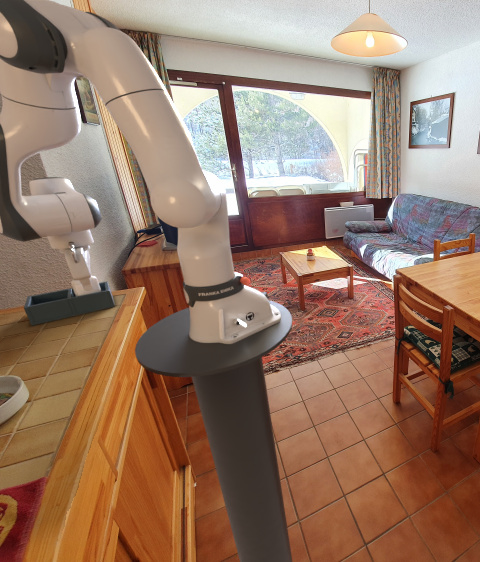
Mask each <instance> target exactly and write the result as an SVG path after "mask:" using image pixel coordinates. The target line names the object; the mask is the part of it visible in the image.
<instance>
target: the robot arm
mask: <svg viewBox="0 0 480 562" xmlns="http://www.w3.org/2000/svg"><path fill="white" fill-rule="evenodd" d="M77 78H78V79H81V78H84V79H86V80H87V81H89V83H90V84H91V85H92V87H93V89H94V90H95V92H96V93H97V95H98V97H99V98H100V100H101V102H102V103H103V105H104V106H105V109H106V110H107V112H108V113H109V115H110V116H111V118H112V120H113V121H114V123H115V125H116V126H117V128H118V130H119V131H120V132H121V134H122V136H123V137H124V139H125V141H126V142H127V144H128V145H129V147H130V149H131V151H132V153H133V155H134V157H135V159H136V162H137V164H138V167H139V169H140V172H141V174H142V177H143V179H144V182H145V184H146V186H147V189H148V190H149V195H150V196H149V197H150V198H149V199H150V205H151V208H152V210H153V212H154V214H155V215H156V216H157V217H158V218H159V219H160V220H161V221H162V222H163V223H165V224H167V225H169V226H171V227H174V228H177V246H176V252H177V256H178V260H179V261H178V262H179V265H180V269H181V274H182V278H183V281H182V287H183V288H182V290H183V294H184V297H185V301H186V303H187V305H188V308H189V310H190V331H189V336H190V338H191V339H192V340H194V341H197V342H201V343H224V344H233V343H235V342H237V341H239V340H242V339H244V338H246V337H248V336H250V335H252V334H254V333H257V332H259V331H261V330H263V329H265V328H267V327H269V326H271V325H274V324H276V323H278V322H280V321H281V314H280V312H279V310H278V309H277V308H276V307H274V306H273V305H271V304H270V303H269V301H268V300H269V296H268V292H267V291H260V290H258V289H256V288H253V287H250V286H249V285H250V284H251V279H250V278H249V277H248V276H244V275H243V274H242V273H239V272H237V271H235V269H234V268H235V267H234V262H233V256H232V255H233V254H232V249H231V243H230V242H231V240H230V224H229V223H230V222H229V211H228V202H227V194H226V193H227V192H226V188H225V185H224V184H223V182H222V181H221V179H220V178H218V177H217V175H215V174H213V173H212V172H210V171H208V170H205V169H203V167H202V165H201V162H200V160H199V157H198V154H197V152H196V150H195V147H194V144H193V141H192V136H191V133H190V131H189V130H188V128H187V126H186V124H185V122H184V120H183V118H182V116H181V113H180V112H179V110H178V109H177V107H176V105H175V103H174V102H173V99H172V98H171V96H170V94H169V92H168V89H167V88H166V86H165V84H164V83H163V81H162V79H161V77H160V76H159V74H158V73H157V71H156V69H155V68H154V66H153V64H152V63H151V62H150V60H149V59H148V58H147V55H145V53H144V52H143V51H142V49H141V48H140V47H139V45H138V44H137V42H135V40H134V39H133V38H132V37H131V36H130V35H128V34H126V32H123V31H121V29H120V28H119V27H118V26H117V25H115V24H114V23H113V22H111V21H110V20H108V19H107V18H105V17H102V16H101V15H99V14H96V13H94V12H91V11H83V10H80V9H77V8H74V7H72V6H68V5H64V4H60V3H58V2H56V1H53V0H0V96H1V97H0V98H1V103H2V106H1V110H0V235H2V236H4V237H6V238H8V239H12V240H16V241H18V242H23V243H26V242H31V241H35V240H38V239H42V238H46V239H47V240H48V243H49V246H50V248H51V249H54V250H58V251H59V253H60V254H62V255H64V258H65V262H66V264H67V268H68V270H69V272H70V275H71V277H72V280H79V281H80V283H81V284H82V286H83V288H84V290H85V291H89V290H92V289H93V287H92V284H91V282H90V277H91V276H92V270H91V267H92V266H91V255H90V250H91V246H90V245H92V244H94V243H95V241H94V238H93V235H92V232H91V230H94V229H95V228H97V227H98V226H99V224H100V223H101V222H102V220H103V217H102V214H101V211H100V209H99V206H98V205H99V204H98V203H97V201H96V199H94V198H92V197H91V196H89V195H87V194H85V193H83V192H78V191H77V190H76V189H75V188H74V186H73V184H72V183H71V181H70V180H69V179H68V178H65V177H60V176H59V177H58V176H48V177H47V176H46V177H38V178H33V179H31V180H29V182H28V187H29V191H30V195H23V191H22V177H21V175H22V174H21V167H22V165H23V163H24V162H25V161H26V160H28V159H29V158H31V157H33V156H35V155H37V154H40V153H43V152H47V151H50V150H53V149H57V148H61V147H63V146H65V145H68V144H69V143H70V142H73V140H75V139H76V138H77V137H78V135H79V134H80V132H81V129H82V118H81V112H80V107H79V102H78V97H77V94H76V90H75V80H76V79H77Z"/></svg>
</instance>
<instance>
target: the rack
mask: <svg viewBox="0 0 480 562" xmlns="http://www.w3.org/2000/svg"><path fill="white" fill-rule="evenodd" d="M98 283H99V286H100V288H101V291H100V292H95V293H90V294H86V295H81V296H75V293H74V290H73V288H72V287H71V288H64V289H59V290H54V291H50V292H44V293H39V294H33V295H27V297H26V300H25V303H24V306H23V310H24V312H25V315H26V316H27V318H28V320H29V322H30V325H31V326H37V325H42V324H46V323H49V322H54V321H58V320H59V321H60V320H63V319H66V318H67V319H68V318H72V317H75V316H79V315H83V314H84V315H85V314H89V313H93V312H98V311H101V310H102V311H103V310H106V309H111V308H115V307H116V305H115V300H114V296H113V293H112V289H111V286H110V285H109V282H108V281H102V282H101V281H100V282H98Z"/></svg>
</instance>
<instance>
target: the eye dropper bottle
mask: <svg viewBox="0 0 480 562" xmlns="http://www.w3.org/2000/svg"><path fill="white" fill-rule="evenodd" d="M90 282H91V284H92V287H93V289H92V290H89V291H85V290H84V288H83V286H82V284H81V283H80V281H79V280H74V279H72V280H71V281H70V285H71V288H73V290H74V293H75V296H81V295H86V294H90V293H95V292H100V291H101V288H100V286H99V283H100V282H99V280H98V278H97V277H96V276H95V275H91V277H90Z"/></svg>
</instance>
